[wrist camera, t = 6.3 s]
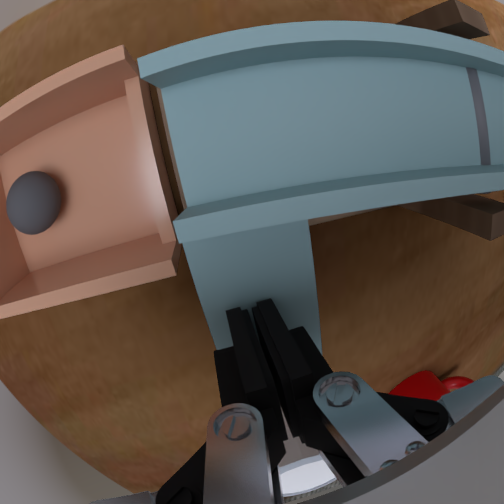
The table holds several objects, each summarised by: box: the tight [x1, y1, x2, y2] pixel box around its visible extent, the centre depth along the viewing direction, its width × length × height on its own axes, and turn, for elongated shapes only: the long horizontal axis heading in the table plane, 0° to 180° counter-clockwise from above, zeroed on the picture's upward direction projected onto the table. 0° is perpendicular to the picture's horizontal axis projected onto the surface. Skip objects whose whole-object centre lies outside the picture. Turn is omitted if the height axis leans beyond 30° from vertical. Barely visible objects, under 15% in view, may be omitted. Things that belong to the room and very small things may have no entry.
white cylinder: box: [278, 408, 337, 497], centre depth 16 cm, size 7×7×7 cm
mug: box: [389, 371, 475, 401], centre depth 20 cm, size 8×12×8 cm, turn 105°
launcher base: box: [156, 0, 504, 241], centre depth 10 cm, size 23×10×8 cm, turn 102°
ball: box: [6, 171, 61, 235], centre depth 10 cm, size 3×3×3 cm
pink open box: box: [0, 45, 182, 319], centre depth 10 cm, size 10×8×5 cm
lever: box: [137, 21, 504, 354], centre depth 7 cm, size 22×13×4 cm, turn 101°
